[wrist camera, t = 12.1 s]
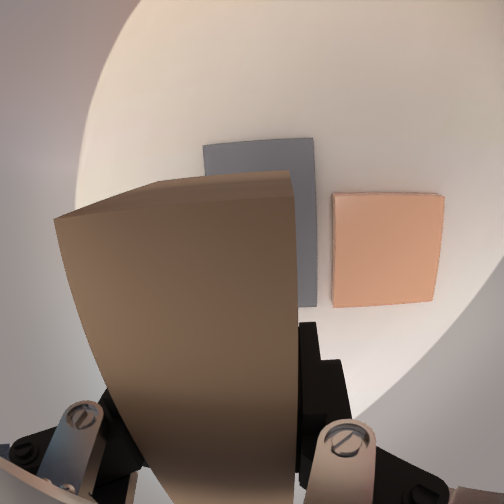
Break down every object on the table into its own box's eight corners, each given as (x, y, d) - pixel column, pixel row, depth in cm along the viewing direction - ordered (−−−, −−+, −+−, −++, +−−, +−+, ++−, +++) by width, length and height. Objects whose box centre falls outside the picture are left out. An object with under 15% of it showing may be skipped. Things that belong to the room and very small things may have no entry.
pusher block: (158, 181, 9) (53, 219, 4) (289, 169, 9) (294, 196, 4) (211, 438, 13) (189, 523, 8) (294, 441, 13) (291, 531, 8)
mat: (312, 138, 24) (313, 137, 23) (316, 304, 29) (316, 306, 28) (204, 145, 25) (202, 145, 24) (222, 306, 30) (221, 308, 29)
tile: (335, 196, 24) (333, 307, 27) (444, 196, 22) (432, 301, 26) (331, 192, 26) (330, 297, 29) (435, 192, 24) (424, 291, 28)
